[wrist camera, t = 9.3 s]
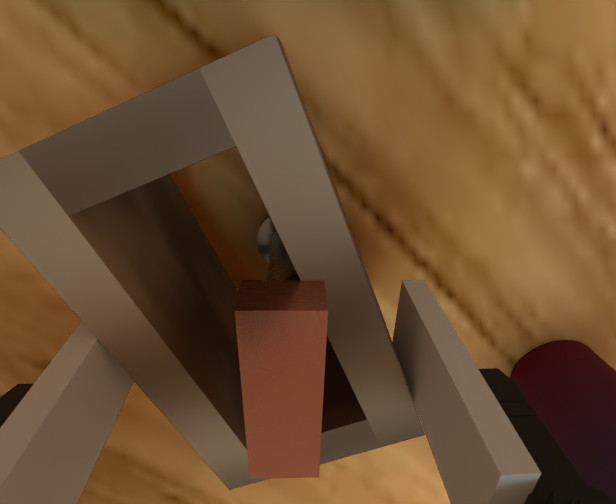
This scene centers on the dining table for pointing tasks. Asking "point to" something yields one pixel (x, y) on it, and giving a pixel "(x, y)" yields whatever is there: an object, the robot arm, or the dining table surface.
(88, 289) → the brown hollow block
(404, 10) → the dining table surface
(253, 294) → the mallet
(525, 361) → the cup
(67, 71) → the dining table surface
